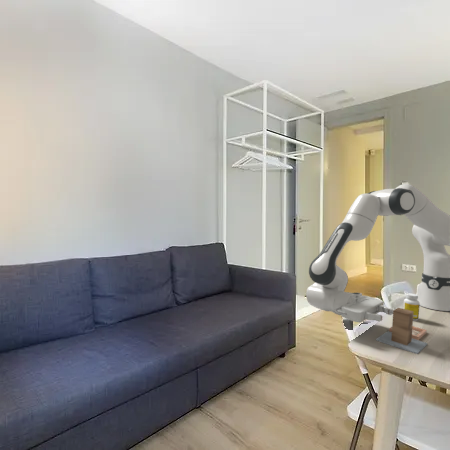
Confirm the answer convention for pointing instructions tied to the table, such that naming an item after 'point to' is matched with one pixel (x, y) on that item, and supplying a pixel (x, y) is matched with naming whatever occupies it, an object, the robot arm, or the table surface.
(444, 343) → the table surface
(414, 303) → the supplement bottle
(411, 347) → the rubber mat
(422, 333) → the terracotta frame
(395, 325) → the walnut block
